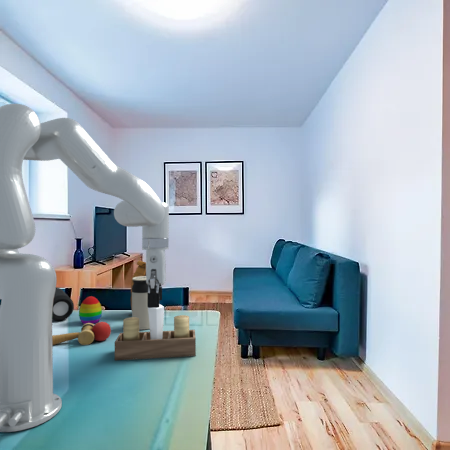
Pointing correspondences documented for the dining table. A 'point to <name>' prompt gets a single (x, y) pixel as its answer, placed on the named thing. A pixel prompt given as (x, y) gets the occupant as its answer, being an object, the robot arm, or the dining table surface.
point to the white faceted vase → (156, 322)
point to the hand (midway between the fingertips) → (155, 303)
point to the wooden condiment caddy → (155, 341)
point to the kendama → (86, 334)
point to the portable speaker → (61, 305)
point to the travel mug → (140, 302)
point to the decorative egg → (90, 310)
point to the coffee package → (138, 274)
